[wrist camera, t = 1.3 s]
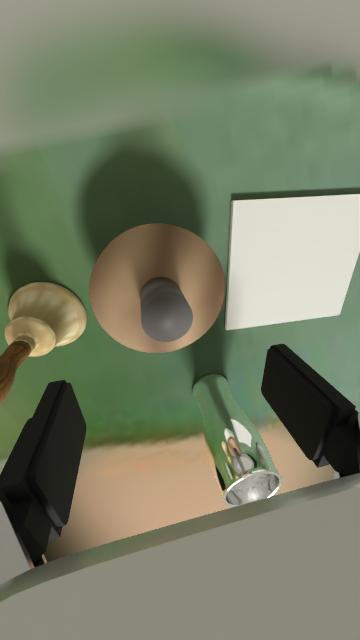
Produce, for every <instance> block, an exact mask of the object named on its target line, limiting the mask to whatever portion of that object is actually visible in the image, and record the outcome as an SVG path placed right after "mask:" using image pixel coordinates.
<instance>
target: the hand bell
mask: <svg viewBox="0 0 360 640" xmlns="http://www.w3.org/2000/svg"><path fill="white" fill-rule="evenodd" d="M8 313H9V318H10V322H9V323H8V325H7V326H6V329H5V339H6V341H7V343H8V344H9V347H8V348H7V349H6V350H5V352H4V353H3V354H2V355H1V356H0V404H1V403H2V401H3V400H4V399H5V397H6V395H7V394H8V392H9V390H10V388H11V386H12V384H13V381H14V377H15V373H16V370H17V369H18V367H19V366H20V365H21V363H22V362H23V361H24V360H25V359H26V358H27V357H28V356H41V355H44V354H46V353H48V352H50V351H51V350H52V349H53V348H54V347H55V346H62V345H66V344H68V343H71V342H73V341H74V340H76V339H77V338H78V337H79V336H80V335H81V334H82V333H83V331H84V329H85V327H86V322H87V316H86V311H85V309H84V306H83V304H82V303H81V301H80V300H79V299H78V298H77V296H76V295H74V294H73V293H72V292H71V291H69V290H68V289H66V288H64V287H62V286H60V285H57V284H54V283H49V282H34V283H29V284H26V285H25V286H22V287H21V288H19V289H18V290H17V291H16V292H15V293H14V294H13V295H12V297H11V299H10V302H9V307H8Z"/></svg>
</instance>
